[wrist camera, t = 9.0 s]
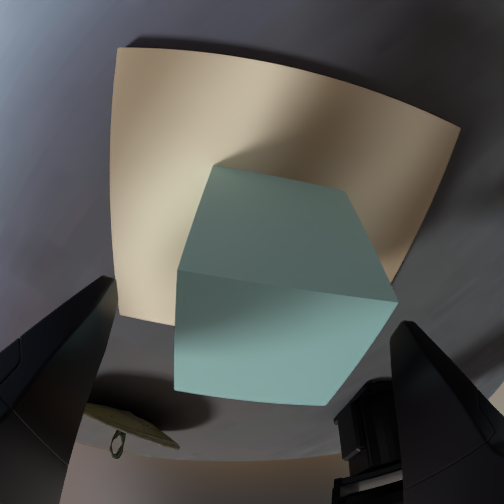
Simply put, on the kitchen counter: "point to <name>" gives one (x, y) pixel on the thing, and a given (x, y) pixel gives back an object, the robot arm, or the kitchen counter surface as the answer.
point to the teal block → (275, 291)
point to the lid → (127, 426)
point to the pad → (254, 156)
